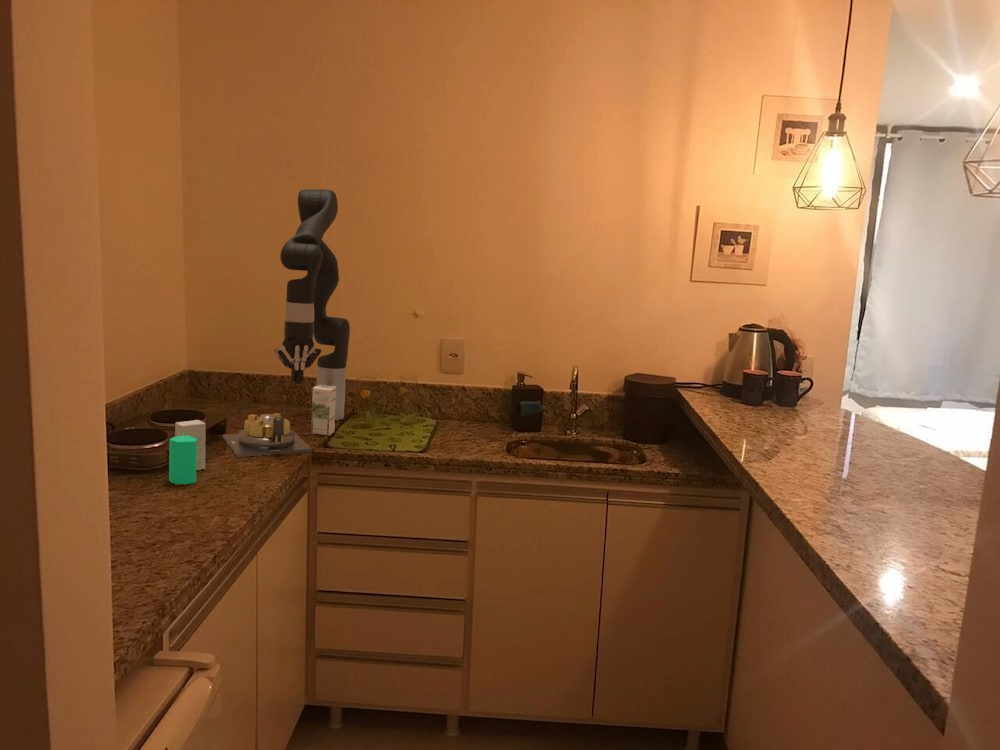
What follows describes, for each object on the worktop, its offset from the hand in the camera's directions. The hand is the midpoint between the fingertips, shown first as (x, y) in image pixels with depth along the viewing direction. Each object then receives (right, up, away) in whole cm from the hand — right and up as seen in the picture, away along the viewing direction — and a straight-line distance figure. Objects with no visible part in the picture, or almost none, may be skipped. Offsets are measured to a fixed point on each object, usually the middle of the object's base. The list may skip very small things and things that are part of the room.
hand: (296, 383), depth 209 cm
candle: (-20, -23, -25) cm, 40 cm away
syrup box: (+1, -16, +27) cm, 31 cm away
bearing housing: (-11, -18, +10) cm, 23 cm away
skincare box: (-22, -21, -16) cm, 35 cm away
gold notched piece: (-9, -15, +6) cm, 18 cm away
